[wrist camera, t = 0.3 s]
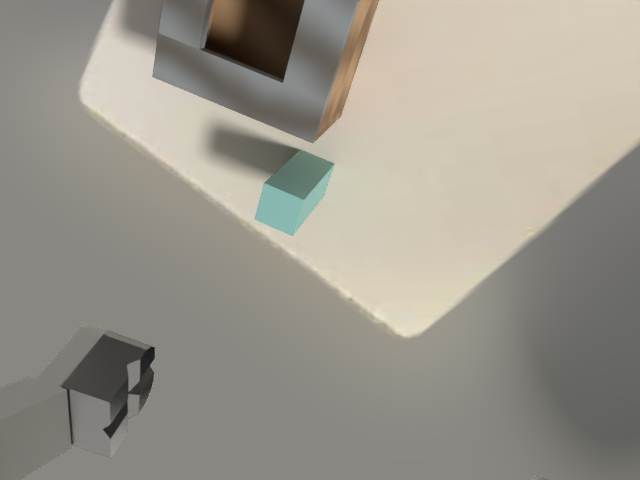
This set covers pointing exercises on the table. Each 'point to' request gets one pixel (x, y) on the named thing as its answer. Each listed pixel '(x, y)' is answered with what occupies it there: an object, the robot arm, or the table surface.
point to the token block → (294, 192)
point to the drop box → (266, 56)
